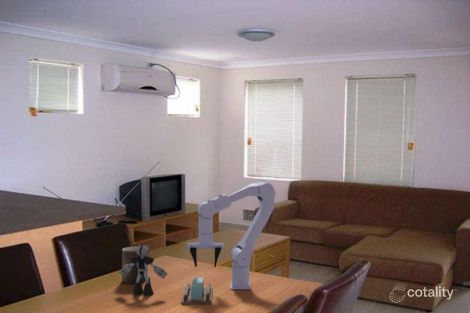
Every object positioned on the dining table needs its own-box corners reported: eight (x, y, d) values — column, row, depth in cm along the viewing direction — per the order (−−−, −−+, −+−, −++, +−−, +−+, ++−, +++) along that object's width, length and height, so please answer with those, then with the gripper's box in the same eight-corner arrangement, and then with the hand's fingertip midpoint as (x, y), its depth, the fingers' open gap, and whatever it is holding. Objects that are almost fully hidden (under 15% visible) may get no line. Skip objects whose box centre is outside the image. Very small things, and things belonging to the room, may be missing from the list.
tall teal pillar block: (193, 289, 197) (193, 276, 197) (203, 289, 197) (203, 276, 197) (191, 299, 185) (191, 286, 185) (202, 299, 185) (202, 286, 185)
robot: (117, 293, 195) (116, 242, 194) (122, 289, 199) (122, 240, 199) (164, 297, 191) (164, 245, 190) (169, 293, 195) (169, 242, 194)
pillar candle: (142, 284, 207) (142, 248, 206) (119, 284, 207) (119, 247, 207) (147, 277, 217) (147, 243, 216) (124, 277, 217) (125, 243, 216)
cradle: (185, 290, 199) (185, 283, 199) (212, 290, 199) (213, 283, 199) (181, 304, 183) (181, 296, 183) (211, 304, 183) (211, 296, 183)
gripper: (186, 234, 195) (186, 269, 196) (223, 234, 195) (223, 269, 196) (188, 231, 202) (188, 264, 203) (224, 231, 202) (223, 264, 203)
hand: (205, 266), depth 200 cm, fingers open, 7 cm apart
